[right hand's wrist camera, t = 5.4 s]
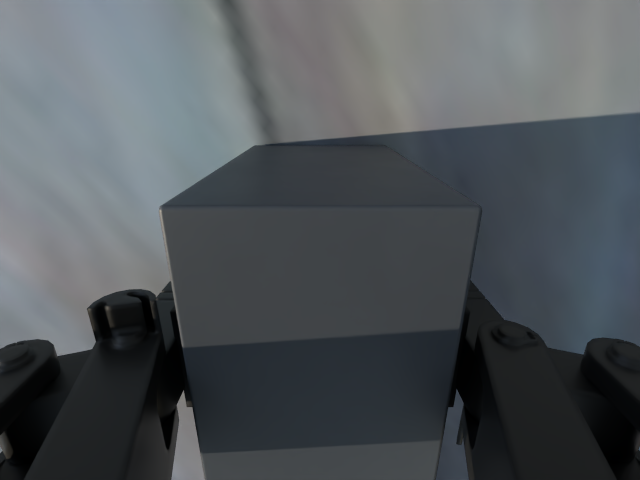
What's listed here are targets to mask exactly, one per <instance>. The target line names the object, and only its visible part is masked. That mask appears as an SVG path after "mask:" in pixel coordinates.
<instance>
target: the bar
mask: <svg viewBox="0 0 640 480" xmlns="http://www.w3.org/2000/svg"><path fill="white" fill-rule="evenodd" d="M481 214H482V209H481V206H479V205H478V204H476V203H475V202H473V201H472V200H470V199H468V198H467V197H465V196H464V195H462V194H461V193H459V192H458V191H456V190H454V189H453V188H451V187H450V186H448V185H447V184H445V183H443V182H442V181H440V180H439V179H437V178H436V177H434V176H432V175H431V174H429V173H428V172H426V171H425V170H423V169H421V168H420V167H418V166H417V165H415V164H414V163H412V162H410V161H409V160H407V159H406V158H404V157H403V156H401V155H400V154H398V153H396V152H395V151H393V150H392V149H390V148H389V147H387V146H253V147H252V148H250V149H248V150H247V151H245V152H244V153H242V154H241V155H239V156H238V157H236V158H234V159H233V160H231V161H230V162H228V163H227V164H225V165H224V166H222V167H220V168H219V169H217V170H216V171H214V172H213V173H211V174H210V175H208V176H206V177H205V178H203V179H202V180H200V181H199V182H197V183H196V184H194V185H192V186H191V187H189V188H188V189H186V190H185V191H183V192H182V193H180V194H178V195H177V196H175V197H174V198H172V199H171V200H169V201H168V202H166V203H165V204H163V205H161V206H160V208H159V215H160V221H161V226H162V232H163V238H164V244H165V250H166V256H167V261H168V267H169V273H170V279H171V285H172V291H173V296H174V302H175V308H176V314H177V320H178V326H179V331H180V337H181V343H182V349H183V355H184V361H185V366H186V372H187V378H188V384H189V390H190V395H191V401H192V407H193V413H194V419H195V425H196V430H197V436H198V442H199V448H200V454H201V460H202V465H203V471H204V477H205V480H436V474H437V469H438V463H439V457H440V451H441V445H442V440H443V434H444V428H445V422H446V417H447V411H448V405H449V399H450V393H451V388H452V382H453V376H454V370H455V365H456V359H457V353H458V347H459V341H460V336H461V330H462V324H463V318H464V312H465V307H466V301H467V295H468V289H469V284H470V278H471V272H472V266H473V260H474V255H475V249H476V243H477V237H478V232H479V226H480V220H481Z"/></svg>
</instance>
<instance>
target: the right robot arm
mask: <svg viewBox="0 0 640 480" xmlns="http://www.w3.org/2000/svg"><path fill="white" fill-rule="evenodd" d="M87 311H88V314H89V318H90V321H91V325H92V329H93V332H94V336H95V339H96V343H95V345H94V347H93V349H91V350H87V351H82V352H77V353H72V354H67V355H62V356H57V354H56V351H55V348H54V345H53V344H52V343H50V342H49V341H47V340H40V339H36V340H27V341H20V342H17V343H13V344H9V345H7V346H5V347H4V348H1V349H0V446H1V448H2V450H3V451H2V452H1V453H0V480H171V477H172V470H173V462H174V455H175V447H176V440H177V432H178V425H179V417H178V410H177V403H178V401H179V399H180V396H181V394H182V392H183V390H184V393H185V399H186V405H187V407H192V401H191V395H190V390H189V384H188V378H187V372H186V366H185V361H184V355H183V349H182V343H181V337H180V331H179V326H178V320H177V314H176V308H175V302H174V296H173V291H172V285H171V281H170V282H169V283H168V284H167V285H166V287H165V288H164V289H163V290H162V293H160V294H159V295H158V296H157V297H156V296H155V294H153V293H152V292H151V291H147V290H142V289H133V290H125V291H120V292H115V293H113V294H110V295H107V296H104V297H102V298H100V299H99V300H97V301H95V302H93V303H92V304H91V305H90V306H89V307H88V308H87ZM456 389H457V390H458V392H459V394H460V396H461V398H462V400H463V402H464V405H463V410H462V415H461V421H460V426H459V431H458V436H457V443H456V444H459V445H461V444H462V439H464V446H465V454H466V461H467V469H468V476H469V480H640V451H639V450H638V449H639V447H640V347H639V346H637V345H635V344H633V343H631V342H627V341H624V340H619V339H610V338H596V339H592V340H591V341H590V342H588V343H587V346H586V349H585V352H584V355H582V354H577V353H571V352H566V351H561V350H556V349H552V348H548V347H547V346H546V344H545V342H544V341H543V340H542V339H541V337H540V336H539V335H538V334H537V333H535V332H534V331H532V330H531V329H529V328H528V327H525V326H523V325H520V324H518V323H515V322H511V321H506V320H504V319H503V318H502V317H501V315H500V314H499V313H498V312H497V311H496V310H495V308H494V307H493V306H492V305H491V304H490V303H489V301H488V300H487V299H485V297H484V296H483V294H482V293H481V292H479V290H478V288H477V287H476V286H475V285H474V284H473V283H472V281H471V280H470V284H469V289H468V295H467V301H466V307H465V312H464V318H463V324H462V330H461V336H460V341H459V347H458V353H457V359H456V365H455V370H454V376H453V382H452V388H451V393H450V399H449V405H448V407H453V406H454V400H455V395H456Z"/></svg>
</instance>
